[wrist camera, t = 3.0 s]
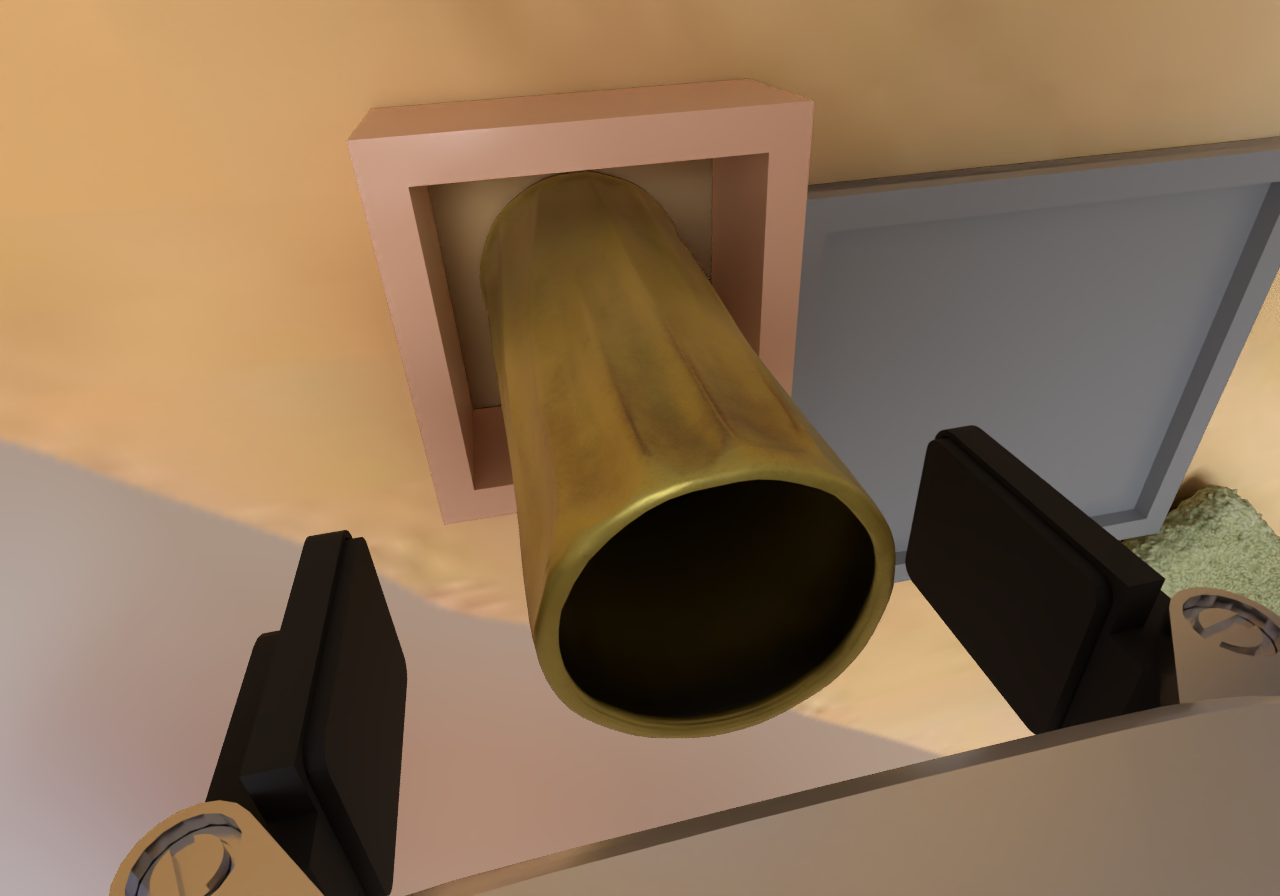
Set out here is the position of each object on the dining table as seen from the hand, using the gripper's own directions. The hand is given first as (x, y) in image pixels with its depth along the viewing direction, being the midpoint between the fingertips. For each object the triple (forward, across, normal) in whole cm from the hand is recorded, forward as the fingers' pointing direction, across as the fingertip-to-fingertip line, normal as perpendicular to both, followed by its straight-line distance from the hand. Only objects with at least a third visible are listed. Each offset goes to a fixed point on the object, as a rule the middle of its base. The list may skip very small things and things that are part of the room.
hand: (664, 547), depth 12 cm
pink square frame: (+12, 0, -1) cm, 12 cm away
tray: (+12, -16, +5) cm, 20 cm away
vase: (+12, 0, -1) cm, 12 cm away
